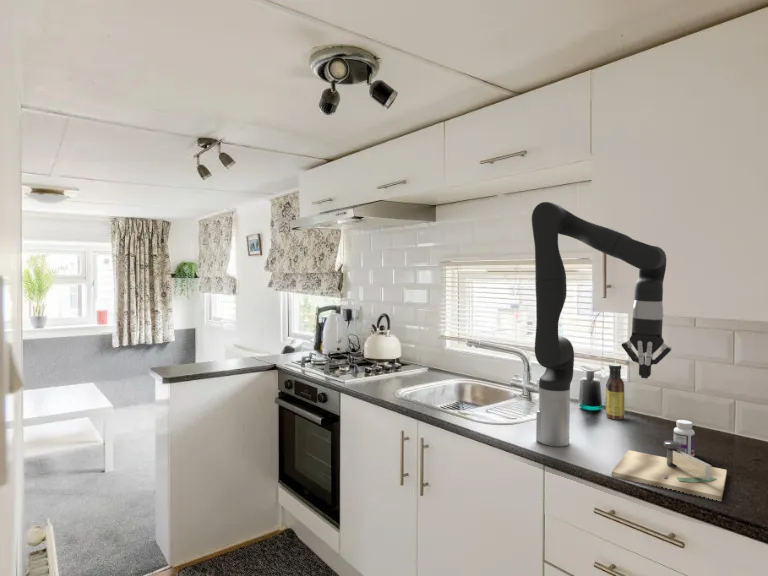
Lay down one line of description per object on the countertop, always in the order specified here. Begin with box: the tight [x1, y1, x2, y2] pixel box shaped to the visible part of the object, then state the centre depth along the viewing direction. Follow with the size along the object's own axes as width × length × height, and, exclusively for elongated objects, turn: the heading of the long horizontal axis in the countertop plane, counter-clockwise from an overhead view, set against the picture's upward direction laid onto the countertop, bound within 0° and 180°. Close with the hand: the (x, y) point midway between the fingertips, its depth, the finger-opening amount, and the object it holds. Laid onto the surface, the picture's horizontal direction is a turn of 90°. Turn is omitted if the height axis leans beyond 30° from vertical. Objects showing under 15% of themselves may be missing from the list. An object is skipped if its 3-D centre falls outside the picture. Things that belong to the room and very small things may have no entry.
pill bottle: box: [673, 419, 696, 457], centre depth 147 cm, size 5×5×10 cm
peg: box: [663, 440, 712, 480], centre depth 130 cm, size 14×4×6 cm, turn 10°
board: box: [611, 449, 728, 503], centre depth 132 cm, size 24×20×1 cm
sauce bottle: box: [605, 363, 626, 421], centre depth 184 cm, size 6×6×20 cm
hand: (644, 377), depth 141 cm, fingers closed
